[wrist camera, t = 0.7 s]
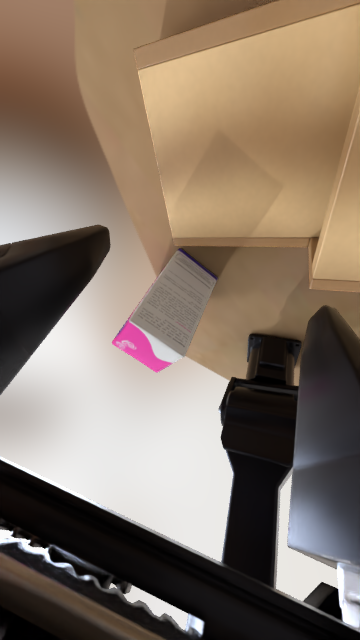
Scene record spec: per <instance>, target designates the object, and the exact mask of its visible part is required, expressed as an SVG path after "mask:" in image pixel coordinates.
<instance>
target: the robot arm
mask: <svg viewBox="0 0 360 640" xmlns="http://www.w3.org/2000/svg"><path fill="white" fill-rule="evenodd" d="M109 250H110V236H109V230H108V228H107V227H104V226H101V225H94V226H89V227H85V228H80V229H76V230H70V231H66V232H61V233H57V234H52V235H47V236H42V237H38V238H33V239H28V240H23V241H19V242H14V243H12V244H11V243H9V244H4V245H0V395H1V394H2V392H3V391H4V390H5V388H6V387H7V386H8V385H9V384H10V382H11V381H12V380H13V378H14V377H15V376H16V375H17V373H18V372H19V371H20V369H21V368H22V367H23V366H24V365H25V363H26V362H27V361H28V359H29V358H30V356H31V355H32V354H33V353H34V352H35V350H36V349H37V348H38V346H39V345H40V344H41V343H42V341H43V340H44V339H45V338H46V336H47V335H48V334H49V333H50V331H51V330H52V329H53V327H54V326H55V325H56V324H57V322H58V321H59V320H60V319H61V317H62V316H63V315H64V313H65V312H66V311H67V310H68V308H69V307H70V306H71V304H72V303H73V302H74V301H75V299H76V298H77V297H78V296H79V294H80V293H81V292H82V291H83V289H84V288H85V287H86V286H87V284H88V283H89V282H90V280H91V279H92V278H93V276H94V275H95V273H96V272H97V270H98V268H99V267H100V265H101V263H102V262H103V260H104V258H105V257H106V255H107V253H108V252H109ZM301 346H302V343H301V341H298V340H291V339H284V338H277V337H270V336H263V335H256V334H250V335H249V338H248V355H247V362H248V369H247V374H246V379H239V378H236V377H232V378H231V380H230V382H229V384H228V386H227V389H226V392H225V394H224V397H223V399H222V402H221V405H220V406H219V412H220V414H221V423H222V426H223V430H222V434H221V440H222V445H223V448H224V449H225V450H226V453H227V456H228V459H229V462H230V465H231V468H232V471H233V481H232V489H231V496H230V503H229V510H228V517H227V526H226V532H225V539H224V547H223V554H222V561H221V562H219V561H216V560H215V559H213V558H210V557H208V556H206V555H204V554H202V553H200V552H198V551H196V550H194V549H192V548H190V547H188V546H185V545H183V544H181V543H179V542H177V541H175V540H173V539H171V538H169V537H167V536H165V535H163V534H160V533H158V532H156V531H154V530H152V529H150V528H148V527H146V526H144V525H142V524H140V523H137V522H135V521H133V520H131V519H129V518H127V517H125V516H123V515H121V514H119V513H117V512H114V511H113V510H110V509H108V508H106V507H104V506H102V505H100V504H98V503H96V502H94V501H92V500H90V499H87V498H85V497H83V496H81V495H79V494H77V493H75V492H73V491H71V490H69V489H67V488H64V487H63V486H60V485H58V484H56V483H54V482H52V481H50V480H48V479H46V478H44V477H42V476H40V475H38V474H35V473H33V472H31V471H29V470H27V469H25V468H23V467H21V466H19V465H17V464H15V463H12V462H10V461H8V460H6V459H4V458H2V457H0V529H2V530H9V531H11V532H12V533H11V536H12V537H14V538H25V539H27V540H28V545H30V546H32V547H42V548H44V549H45V552H44V551H30V550H28V549H26V542H24V541H23V540H21V539H3V540H0V640H360V339H359V338H358V337H357V335H356V334H355V333H354V332H353V330H352V329H351V328H350V326H349V325H348V324H347V323H346V321H345V320H344V319H343V317H342V316H341V315H340V314H339V312H338V311H337V310H336V309H335V308H332V307H329V306H327V305H325V306H322V307H321V308H320V309H319V310H318V311H317V312H316V313H315V314H314V315H313V316H312V317H311V318H310V320H309V322H308V325H307V330H306V335H305V339H304V344H303V349H302V354H301V363H300V377H299V386H294V368H295V365H296V362H297V358H298V355H299V352H300V349H301ZM291 474H292V487H291V499H290V514H289V528H288V547H289V548H291V549H294V550H296V551H298V552H300V553H302V554H304V555H306V556H309V557H311V558H313V559H315V560H317V561H320V562H322V563H324V564H326V565H328V566H330V567H333V568H335V569H337V573H338V588H339V589H337V588H335V587H333V586H330V585H328V584H326V583H323V582H321V583H320V584H319V585H318V586H317V587H316V588H315V590H313V591H312V593H311V594H310V595H309V596H308V597H307V598H306V599H305V600H304V601H303V602H302V601H300V600H298V599H295V598H294V597H292V596H290V595H288V594H285V593H283V592H281V591H279V590H277V589H276V576H277V552H278V531H279V508H280V490H281V488H282V487H283V486H284V484H285V483H286V481H287V480H288V478H289V477H290V476H291ZM111 583H113V584H114V585H116V587H117V589H116V588H111V589H109V586H110V584H111ZM132 585H133V586H135V587H137V588H139V589H141V590H143V591H145V592H147V593H149V594H151V595H153V596H155V597H157V598H159V599H161V600H163V601H165V602H167V603H169V604H171V605H173V606H175V607H177V608H178V609H180V610H182V611H184V612H186V613H188V619H187V624H186V629H185V630H183V629H181V628H180V627H179V626H178V624H177V623H176V622H175V621H174V620H173V618H172V617H171V616H169V615H167V614H165V613H164V614H163V615H162V616H161V617H158V616H156V615H154V614H153V613H152V611H151V610H150V609H149V607H148V606H147V605H146V604H145V603H144V602H142V601H140V600H138V601H137V602H134V603H131V602H129V601H127V600H126V598H125V597H124V595H123V594H126V593H129V592H130V589H131V586H132Z"/></svg>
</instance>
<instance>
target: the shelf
mask: <svg viewBox="0 0 360 640" xmlns="http://www.w3.org/2000/svg"><path fill="white" fill-rule="evenodd" d="M134 55H135V60H136V65H137V69H139V70H138V74H139V79H140V84H141V89H142V93H143V98H144V103H145V108H146V113H147V117H148V122H149V127H150V132H151V137H152V141H153V146H154V151H155V156H156V160H157V165H158V170H159V175H160V180H161V184H162V189H163V194H164V199H165V204H166V208H167V213H168V218H169V223H170V227H171V232H172V237H173V242H174V246H237V247H308V255H309V288H310V289H317V290H332V291H346V292H360V0H276V1H273V2H270V3H267V4H264V5H262V6H259V7H256V8H253V9H250V10H247V11H244V12H241V13H238V14H235V15H232V16H229V17H226V18H223V19H220V20H217V21H214V22H211V23H208V24H205V25H202V26H199V27H197V28H194V29H191V30H188V31H185V32H182V33H179V34H176V35H173V36H170V37H167V38H164V39H161V40H158V41H155V42H152V43H149V44H146V45H143V46H140V47H137V48H135V49H134Z"/></svg>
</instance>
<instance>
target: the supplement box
mask: <svg viewBox="0 0 360 640" xmlns="http://www.w3.org/2000/svg"><path fill="white" fill-rule="evenodd" d="M217 280H218V277H216V276H215V275H214V274H213V273H212V272H210V271H209V270H208V269H206V268H205V267H204V266H203V265H201V264H200V263H199V262H198V261H196V260H195V259H194V258H193V257H191V256H190V255H189V254H187V253H186V252H185V251H183V250H182V249H181V248H179V249H178V250H177V251H176V253H175V254H174V255H173V257H172V258H171V260H170V261H169V262H168V264H167V265H166V266H165V268H164V269H163V270H162V272H161V273H160V275H159V276H158V277H157V278H156V280H155V281H154V283H153V284H152V286H151V287H150V288H149V290H148V291H147V293H146V294H145V296H144V297H143V298H142V300H141V301H140V303H139V304H138V305H137V307H136V308H135V310H134V311H133V312H132V314H131V315H130V317H129V318H128V320H127V321H126V323H125V324H124V325H123V327H122V328H121V330H120V331H119V333H118V334H117V336H116V337H115V338H114V340H113V341H112V344H113V345H115V346H116V347H118V348H119V349H121V350H123V351H124V352H126V353H127V354H129V355H131V356H132V357H134V358H135V359H137V360H139V361H140V362H141V363H143V364H144V365H146V366H147V367H149V368H150V369H152V370H153V371H155V372H159V371H161V370H162V369H164V368H166V367H168V366H170V365H171V364H173V363H175V362H176V361H178V360H179V359H181V358H183V357H184V356H185V354H186V352H187V350H188V347H189V345H190V343H191V340H192V338H193V335H194V333H195V331H196V329H197V326H198V324H199V321H200V319H201V317H202V314H203V312H204V310H205V307H206V305H207V302H208V300H209V298H210V295H211V293H212V291H213V288H214V286H215V284H216V281H217Z"/></svg>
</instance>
